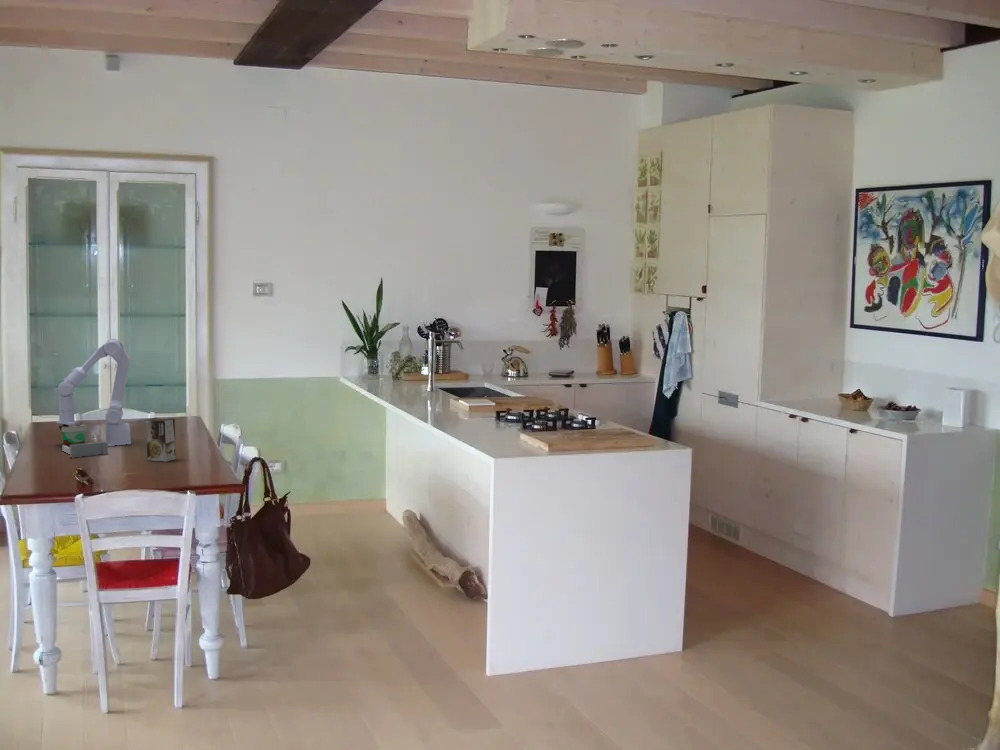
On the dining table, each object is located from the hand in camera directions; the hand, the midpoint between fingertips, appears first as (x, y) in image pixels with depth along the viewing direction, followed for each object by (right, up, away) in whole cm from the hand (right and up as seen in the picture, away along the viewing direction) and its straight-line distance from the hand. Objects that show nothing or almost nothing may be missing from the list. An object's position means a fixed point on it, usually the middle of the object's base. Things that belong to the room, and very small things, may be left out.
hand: (67, 442), depth 431 cm
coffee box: (+47, -5, -26) cm, 54 cm away
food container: (+7, -2, -6) cm, 10 cm away
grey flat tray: (+13, -3, -15) cm, 20 cm away
